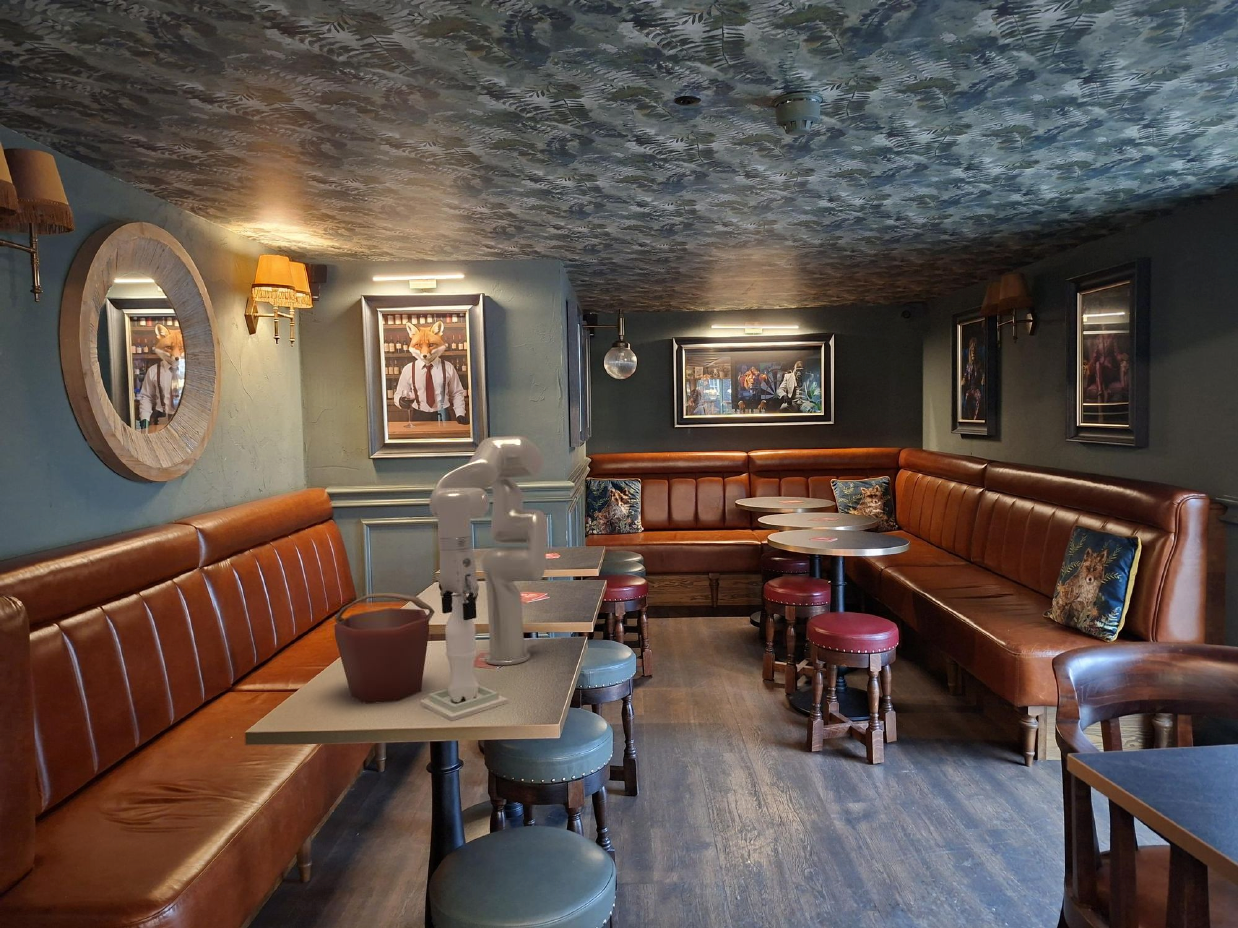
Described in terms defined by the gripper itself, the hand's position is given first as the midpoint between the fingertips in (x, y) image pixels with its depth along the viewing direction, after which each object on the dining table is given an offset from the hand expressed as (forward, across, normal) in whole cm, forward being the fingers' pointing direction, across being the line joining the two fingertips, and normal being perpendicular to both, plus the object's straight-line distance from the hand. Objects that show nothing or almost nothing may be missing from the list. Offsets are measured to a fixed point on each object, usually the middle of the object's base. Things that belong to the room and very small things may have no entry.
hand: (459, 615), depth 187 cm
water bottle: (+20, 0, 0) cm, 20 cm away
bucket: (+22, +22, +9) cm, 32 cm away
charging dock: (+21, 0, 0) cm, 21 cm away
